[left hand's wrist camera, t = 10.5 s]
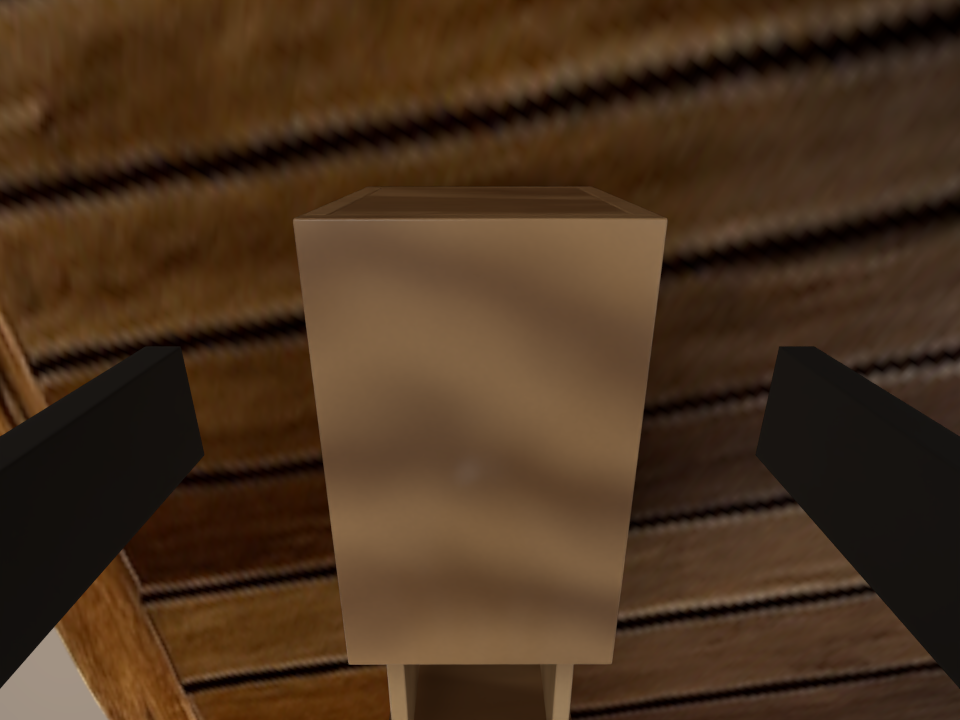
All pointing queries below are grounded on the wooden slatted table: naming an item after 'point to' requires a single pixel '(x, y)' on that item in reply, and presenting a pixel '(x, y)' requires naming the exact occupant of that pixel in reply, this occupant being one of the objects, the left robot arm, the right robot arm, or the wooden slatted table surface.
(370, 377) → the cabinet
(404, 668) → the drawer
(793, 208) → the wooden slatted table surface
